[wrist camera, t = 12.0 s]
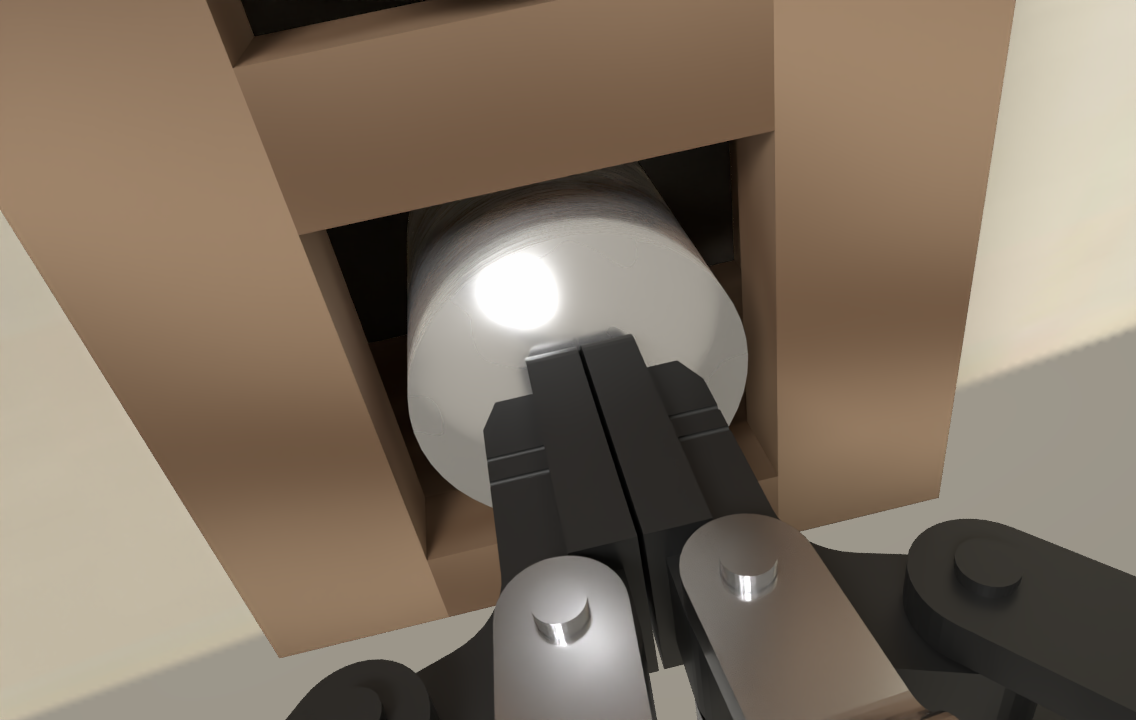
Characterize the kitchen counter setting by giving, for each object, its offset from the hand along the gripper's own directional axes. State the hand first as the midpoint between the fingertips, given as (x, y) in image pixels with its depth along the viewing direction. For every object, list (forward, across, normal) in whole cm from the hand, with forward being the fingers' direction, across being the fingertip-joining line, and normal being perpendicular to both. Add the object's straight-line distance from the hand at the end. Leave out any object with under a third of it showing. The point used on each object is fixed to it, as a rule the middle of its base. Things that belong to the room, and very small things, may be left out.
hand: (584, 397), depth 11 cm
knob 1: (+5, 0, 0) cm, 5 cm away
